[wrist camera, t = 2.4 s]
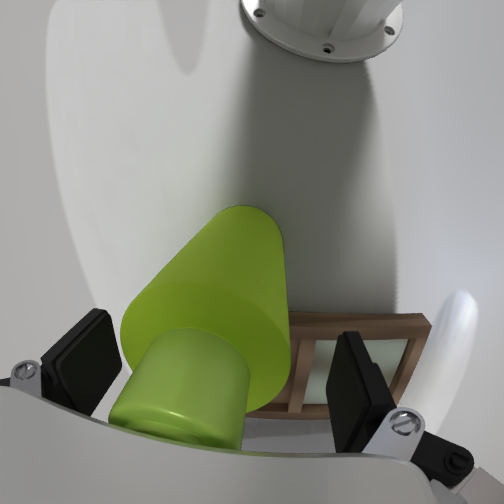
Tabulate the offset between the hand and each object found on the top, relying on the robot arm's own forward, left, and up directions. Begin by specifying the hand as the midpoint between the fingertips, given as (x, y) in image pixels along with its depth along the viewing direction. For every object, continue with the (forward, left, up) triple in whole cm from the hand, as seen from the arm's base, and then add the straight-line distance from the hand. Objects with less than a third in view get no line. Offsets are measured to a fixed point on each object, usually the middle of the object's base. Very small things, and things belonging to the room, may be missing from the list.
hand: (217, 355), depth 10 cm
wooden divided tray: (+10, +5, -11) cm, 16 cm away
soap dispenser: (-1, 0, -12) cm, 12 cm away
